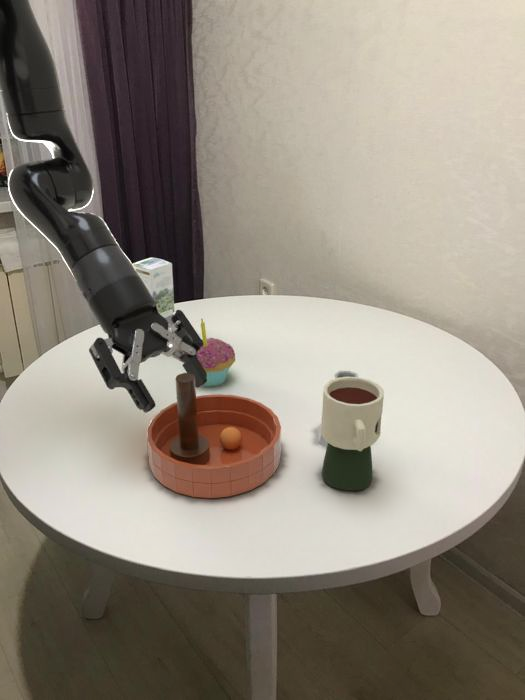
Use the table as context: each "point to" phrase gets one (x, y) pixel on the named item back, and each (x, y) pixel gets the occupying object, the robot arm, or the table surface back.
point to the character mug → (350, 430)
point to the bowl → (218, 447)
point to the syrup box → (158, 283)
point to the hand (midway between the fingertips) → (177, 396)
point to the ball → (230, 438)
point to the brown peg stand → (188, 425)
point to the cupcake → (215, 358)
